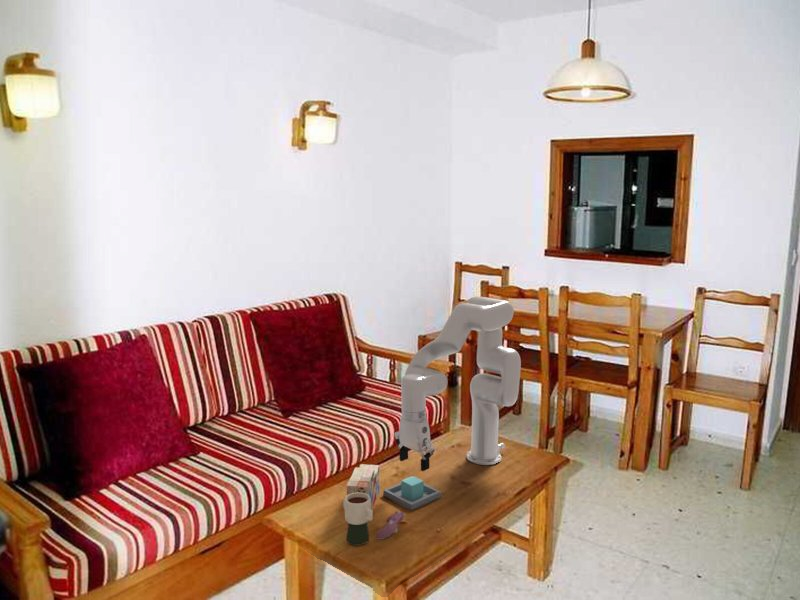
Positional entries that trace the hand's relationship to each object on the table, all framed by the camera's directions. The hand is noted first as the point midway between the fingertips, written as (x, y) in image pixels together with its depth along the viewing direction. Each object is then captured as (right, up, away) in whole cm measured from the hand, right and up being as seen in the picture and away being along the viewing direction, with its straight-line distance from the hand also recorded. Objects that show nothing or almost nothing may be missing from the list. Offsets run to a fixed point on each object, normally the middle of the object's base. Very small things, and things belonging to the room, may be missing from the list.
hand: (414, 464), depth 207 cm
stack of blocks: (-16, -12, -5) cm, 20 cm away
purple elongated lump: (-7, -15, -20) cm, 26 cm away
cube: (-1, -10, +1) cm, 10 cm away
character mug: (-16, -15, -25) cm, 33 cm away
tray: (-1, -11, +1) cm, 11 cm away
